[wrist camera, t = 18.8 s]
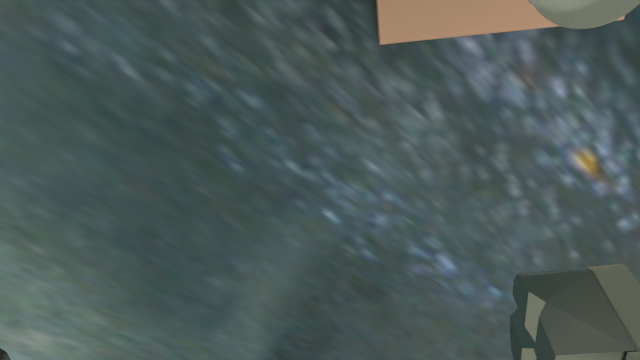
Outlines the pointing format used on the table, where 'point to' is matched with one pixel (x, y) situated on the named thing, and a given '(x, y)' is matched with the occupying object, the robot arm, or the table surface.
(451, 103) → the table surface
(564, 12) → the hub
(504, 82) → the table surface
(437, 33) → the locating plate
